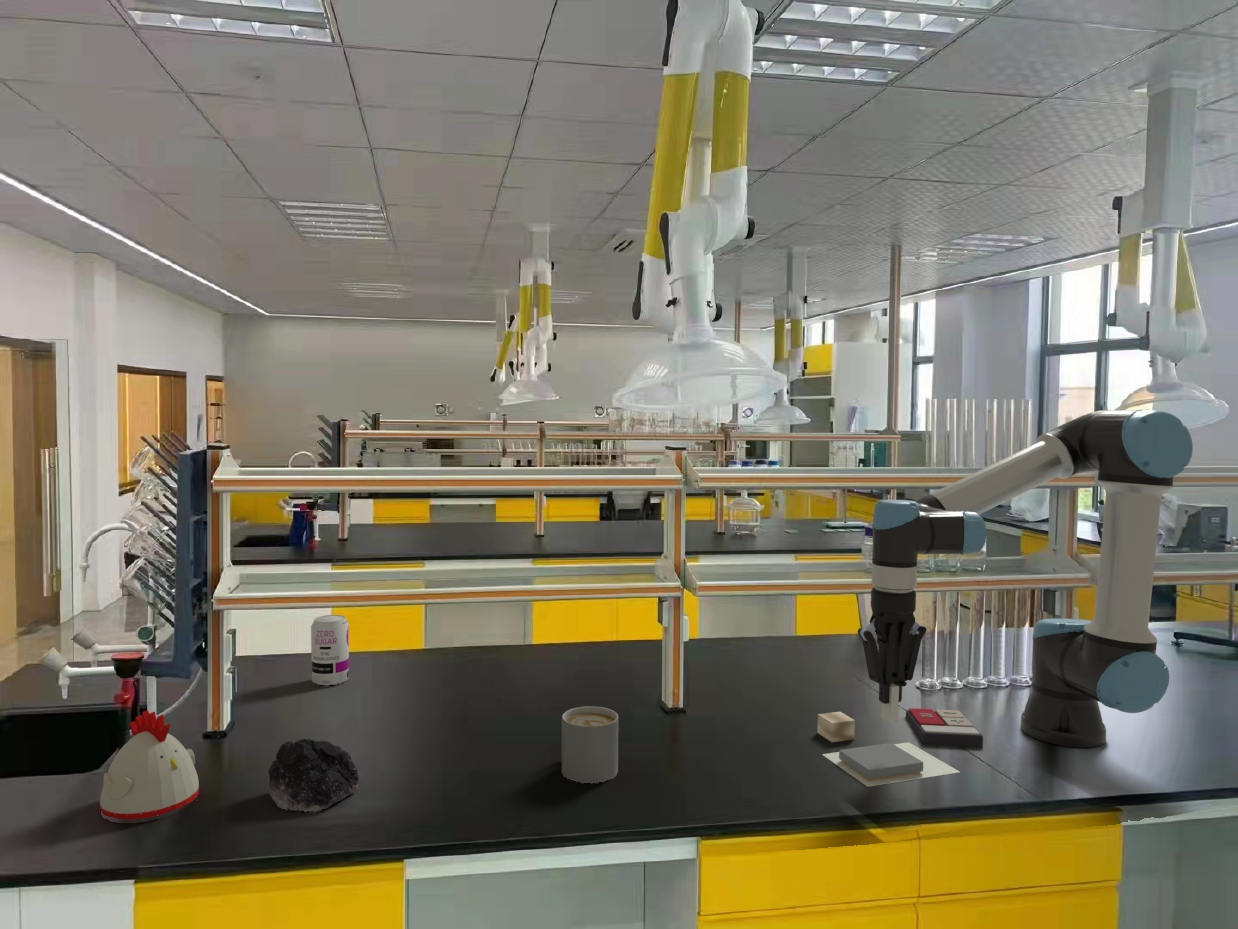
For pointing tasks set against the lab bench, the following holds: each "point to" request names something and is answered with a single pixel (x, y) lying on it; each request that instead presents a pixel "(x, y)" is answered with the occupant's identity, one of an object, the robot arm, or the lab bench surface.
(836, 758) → the board
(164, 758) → the white chicken figure
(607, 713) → the coffee mug
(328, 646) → the supplement can
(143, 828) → the lab bench surface
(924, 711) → the calculator
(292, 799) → the crystal cluster
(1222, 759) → the lab bench surface
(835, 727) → the block
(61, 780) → the lab bench surface
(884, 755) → the tile
